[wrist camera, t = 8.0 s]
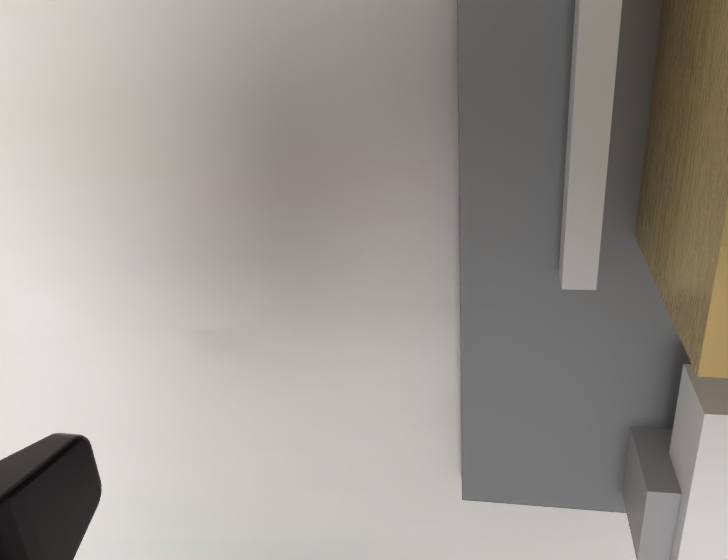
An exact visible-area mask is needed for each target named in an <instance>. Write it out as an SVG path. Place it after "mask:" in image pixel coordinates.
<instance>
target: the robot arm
mask: <svg viewBox="0 0 728 560" xmlns="http://www.w3.org/2000/svg"><path fill="white" fill-rule="evenodd" d="M100 497H101V480H100V477H99V473H98V469H97V465H96V462H95V458H94V454H93V450H92V446H91V444H90V441H89V440H88V439H87V438H86V437H85V436H82V435H77V434H66V433H55V434H52V435H50V436H48V437H46V438H44V439H42V440H40V441H38V442H36V443H34V444H32V445H30V446H28V447H26V448H24V449H22V450H20V451H18V452H16V453H14V454H12V455H10V456H8V457H6V458H4V459H2V460H0V560H73V559H74V557H75V555H76V552H77V550H78V548H79V546H80V544H81V541H82V539H83V537H84V535H85V533H86V530H87V528H88V526H89V524H90V522H91V519H92V517H93V515H94V513H95V511H96V508H97V506H98V504H99V501H100Z"/></svg>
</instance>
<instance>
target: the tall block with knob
mask: <svg viewBox="0 0 728 560" xmlns="http://www.w3.org/2000/svg"><path fill="white" fill-rule="evenodd" d="M635 239H636V241H637V243H638V245H639V247H640V250H641V252H642V254H643V256H644V259H645V261H646V263H647V265H648V268H649V270H650V272H651V274H652V277H653V279H654V281H655V283H656V286H657V288H658V290H659V292H660V294H661V297H662V299H663V301H664V303H665V306H666V308H667V310H668V312H669V315H670V317H671V319H672V321H673V324H674V326H675V328H676V330H677V333H678V335H679V337H680V339H681V341H682V344H683V346H684V348H685V350H686V353H687V355H688V357H689V359H690V362H691V364H692V366H693V368H694V371H695V373H696V375H697V377H716V378H728V0H662V9H661V17H660V26H659V35H658V43H657V52H656V60H655V69H654V77H653V86H652V94H651V103H650V111H649V120H648V128H647V137H646V146H645V154H644V163H643V171H642V180H641V188H640V197H639V205H638V214H637V222H636V231H635Z"/></svg>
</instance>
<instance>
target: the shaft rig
mask: <svg viewBox="0 0 728 560" xmlns="http://www.w3.org/2000/svg"><path fill="white" fill-rule="evenodd" d="M661 9H662V0H457V13H458V116H459V220H460V323H461V427H462V500H470V501H483V502H495V503H508V504H520V505H533V506H545V507H558V508H570V509H583V510H596V511H608V512H621V513H627V516H628V521H629V525H630V530H631V534H632V539H633V544H634V548H635V553H636V557H637V560H728V378H716V377H697V375H696V373H695V371H694V368H693V366H692V364H691V362H690V359H689V357H688V355H687V353H686V350H685V348H684V346H683V344H682V341H681V339H680V337H679V335H678V333H677V330H676V328H675V326H674V324H673V321H672V319H671V317H670V315H669V312H668V310H667V308H666V306H665V303H664V301H663V299H662V297H661V294H660V292H659V290H658V288H657V286H656V283H655V281H654V279H653V277H652V274H651V272H650V270H649V268H648V265H647V263H646V261H645V259H644V256H643V254H642V252H641V250H640V247H639V245H638V243H637V241H636V239H635V231H636V222H637V214H638V205H639V197H640V188H641V180H642V171H643V163H644V154H645V146H646V137H647V128H648V120H649V111H650V103H651V94H652V86H653V77H654V69H655V60H656V52H657V43H658V35H659V26H660V17H661Z"/></svg>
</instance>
